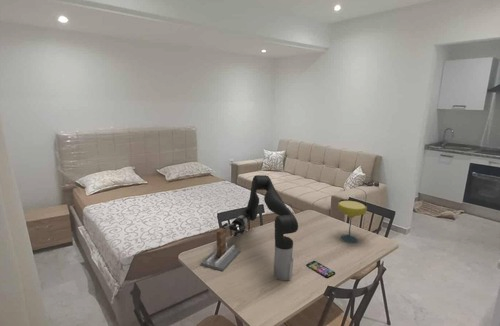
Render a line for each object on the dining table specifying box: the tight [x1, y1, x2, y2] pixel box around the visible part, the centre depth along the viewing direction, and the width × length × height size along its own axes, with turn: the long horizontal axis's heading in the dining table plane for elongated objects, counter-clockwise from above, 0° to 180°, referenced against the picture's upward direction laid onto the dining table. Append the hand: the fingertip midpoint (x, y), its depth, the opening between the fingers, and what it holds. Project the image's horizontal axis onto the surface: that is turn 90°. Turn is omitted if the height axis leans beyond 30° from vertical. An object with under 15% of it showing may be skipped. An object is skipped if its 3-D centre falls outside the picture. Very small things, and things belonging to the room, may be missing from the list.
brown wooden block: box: [216, 227, 227, 258], centre depth 161 cm, size 3×5×16 cm, turn 157°
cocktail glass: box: [337, 199, 368, 244], centre depth 186 cm, size 18×18×25 cm
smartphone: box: [306, 260, 336, 279], centre depth 153 cm, size 8×1×15 cm
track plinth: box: [200, 242, 241, 272], centre depth 162 cm, size 14×22×4 cm, turn 157°
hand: (228, 233), depth 168 cm, fingers open, 8 cm apart
